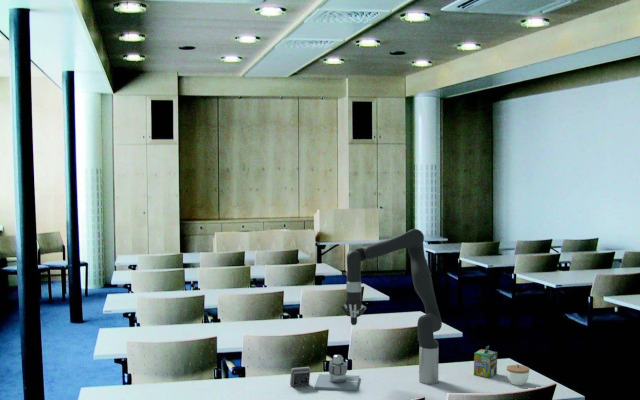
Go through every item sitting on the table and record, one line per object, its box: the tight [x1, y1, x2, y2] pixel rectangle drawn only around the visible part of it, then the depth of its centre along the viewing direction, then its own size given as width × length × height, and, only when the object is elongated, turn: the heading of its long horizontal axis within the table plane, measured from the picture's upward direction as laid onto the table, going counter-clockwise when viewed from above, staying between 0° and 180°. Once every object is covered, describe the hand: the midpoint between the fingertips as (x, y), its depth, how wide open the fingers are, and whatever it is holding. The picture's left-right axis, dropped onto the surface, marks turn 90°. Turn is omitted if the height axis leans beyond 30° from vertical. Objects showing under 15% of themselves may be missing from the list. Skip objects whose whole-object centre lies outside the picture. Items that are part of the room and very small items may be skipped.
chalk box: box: [473, 345, 498, 379], centre depth 362 cm, size 9×9×15 cm
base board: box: [314, 358, 360, 392], centre depth 347 cm, size 20×20×10 cm
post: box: [328, 354, 347, 384], centre depth 347 cm, size 8×8×12 cm
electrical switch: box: [289, 366, 311, 388], centre depth 343 cm, size 9×5×9 cm, turn 107°
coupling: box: [328, 356, 348, 374], centre depth 350 cm, size 16×8×4 cm, turn 173°
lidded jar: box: [506, 364, 530, 387], centre depth 348 cm, size 11×11×9 cm
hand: (353, 324), depth 357 cm, fingers closed
